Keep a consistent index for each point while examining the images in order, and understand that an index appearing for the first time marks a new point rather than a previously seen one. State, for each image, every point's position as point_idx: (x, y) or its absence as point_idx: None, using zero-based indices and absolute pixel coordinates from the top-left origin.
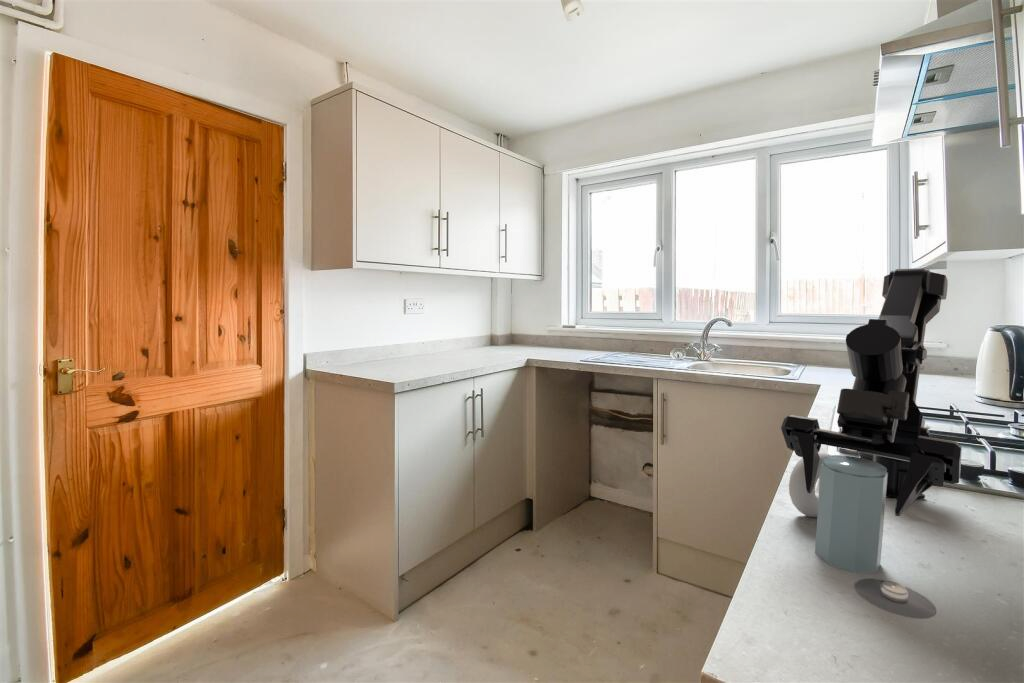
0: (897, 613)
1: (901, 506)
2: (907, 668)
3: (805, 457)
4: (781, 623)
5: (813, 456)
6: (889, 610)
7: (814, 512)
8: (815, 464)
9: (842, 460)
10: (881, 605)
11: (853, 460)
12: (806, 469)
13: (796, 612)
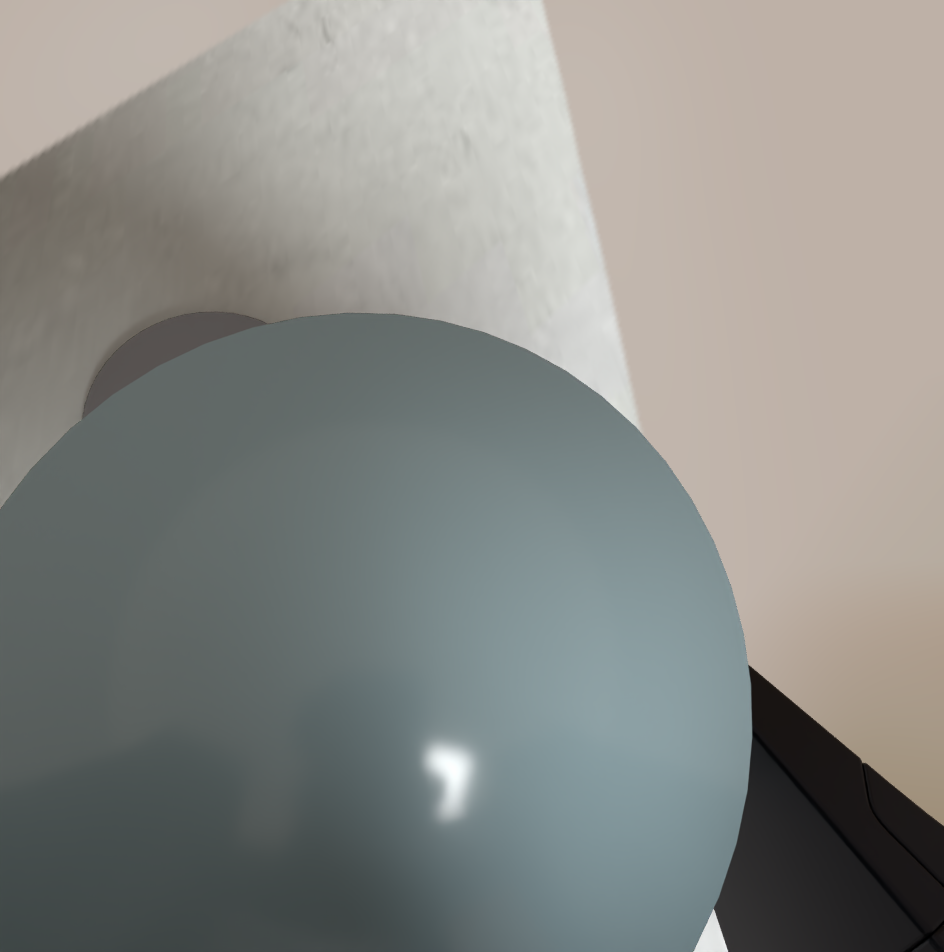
0: (197, 314)
1: None
2: (175, 91)
3: (929, 839)
4: (459, 89)
5: (881, 881)
6: (219, 317)
7: None
8: (793, 940)
9: (532, 724)
10: (243, 330)
11: (407, 869)
12: (792, 713)
13: (443, 159)
